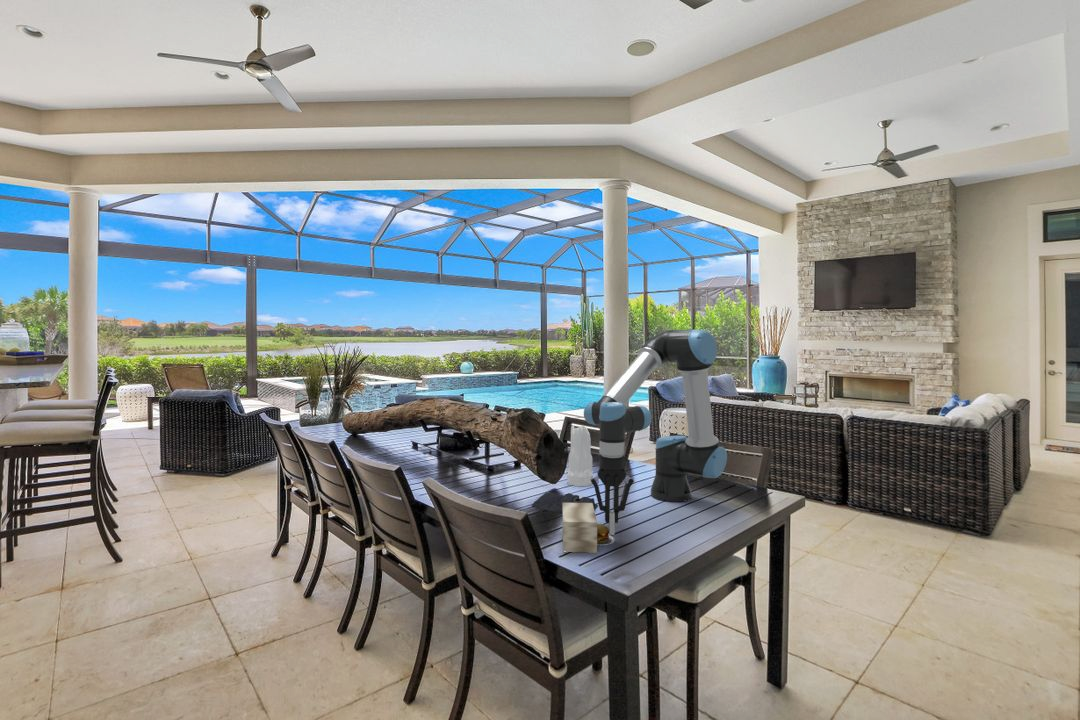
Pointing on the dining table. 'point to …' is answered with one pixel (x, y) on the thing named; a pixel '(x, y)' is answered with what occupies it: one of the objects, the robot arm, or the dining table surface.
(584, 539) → the beige paper bag
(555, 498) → the dark slate chunk
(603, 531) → the hamburger
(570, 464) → the decorative vase
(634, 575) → the dining table surface
